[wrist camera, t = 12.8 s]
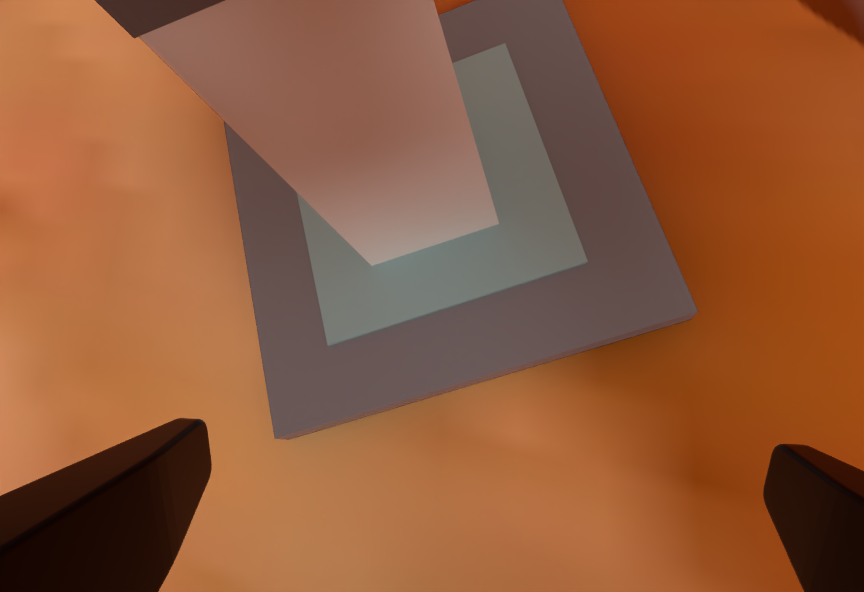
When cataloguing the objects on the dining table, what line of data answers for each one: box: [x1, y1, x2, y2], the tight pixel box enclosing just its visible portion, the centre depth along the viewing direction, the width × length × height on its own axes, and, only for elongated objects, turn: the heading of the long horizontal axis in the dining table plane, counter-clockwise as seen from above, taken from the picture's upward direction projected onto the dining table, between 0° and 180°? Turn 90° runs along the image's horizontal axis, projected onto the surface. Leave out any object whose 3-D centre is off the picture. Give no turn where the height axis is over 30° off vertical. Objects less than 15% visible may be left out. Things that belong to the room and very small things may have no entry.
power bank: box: [95, 0, 499, 266], centre depth 14 cm, size 5×5×13 cm
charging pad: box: [224, 0, 698, 440], centre depth 21 cm, size 14×14×1 cm
